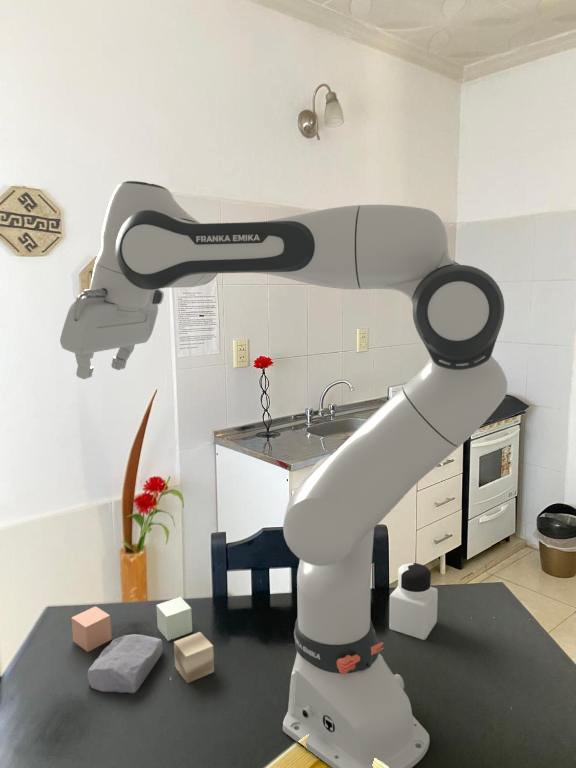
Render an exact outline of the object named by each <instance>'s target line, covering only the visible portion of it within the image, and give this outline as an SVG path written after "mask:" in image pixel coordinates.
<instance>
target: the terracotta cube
mask: <svg viewBox="0 0 576 768" xmlns="http://www.w3.org/2000/svg"><path fill="white" fill-rule="evenodd" d="M70 619H71V629H72V641H73V643H75V645H77V646H79V647H80V648H81V649H83V650H84V651H85V652H87V653H88V652H89V653H90V651H92V650H94V649H96V648H98V647H100V646H102V645H103V644H105V643H108V642H109V641H111V640H112V639H113V637H112V623H111V615H110V614H108V613H107V612H105V611H104V610H102V609H101V608H99V607H98V606H93V607H91V608H89V609H87V610H85V611H82V612H80V613H78V614H76V615H74V616H72V617H71V618H70Z"/></svg>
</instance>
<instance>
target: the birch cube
mask: <svg viewBox="0 0 576 768" xmlns="http://www.w3.org/2000/svg"><path fill="white" fill-rule="evenodd" d="M173 651H174V654H173V655H174V667H176V668H175V669H176V670H177V672H178V671H179V672H178V673H179V674H180V675H181V678H182V679H183V680H184V681H185V682H186V683H187V684H189V683H191V682H194V681H196V680H199V679H200V678H203V677H205V676H208V675H210V674H212V673H214V672H215V662H214V661H215V660H214V659H215V658H214V645H213V644H212V643H211V642H210V641H209V640H208V638H207V637H205V635H204V634H203V633H202V632H201V631H198V632H195V633H193V634H190V635H188V636H185V637H183V638H180V639H177V640H175V641H173Z"/></svg>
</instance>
